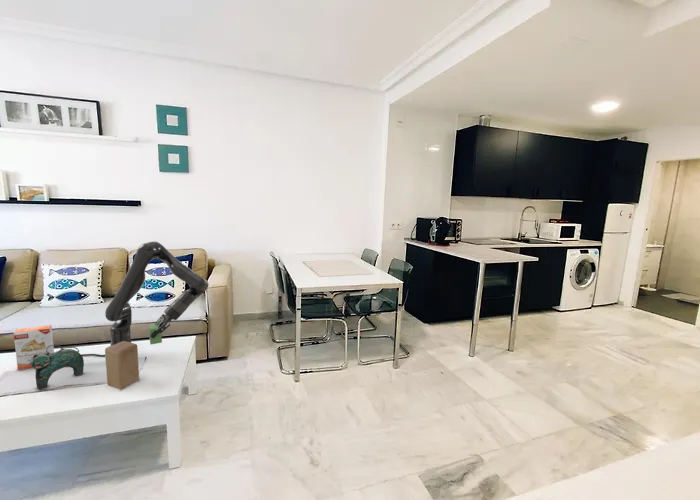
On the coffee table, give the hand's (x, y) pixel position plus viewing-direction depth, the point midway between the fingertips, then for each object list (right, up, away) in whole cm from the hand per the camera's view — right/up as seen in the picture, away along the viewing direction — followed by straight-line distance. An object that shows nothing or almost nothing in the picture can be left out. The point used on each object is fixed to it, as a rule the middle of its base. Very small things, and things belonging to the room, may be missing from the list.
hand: (151, 335), depth 166 cm
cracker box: (-69, -19, +12) cm, 72 cm away
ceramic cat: (-45, -23, -1) cm, 50 cm away
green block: (+1, -4, +2) cm, 4 cm away
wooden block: (-14, -24, 0) cm, 28 cm away
